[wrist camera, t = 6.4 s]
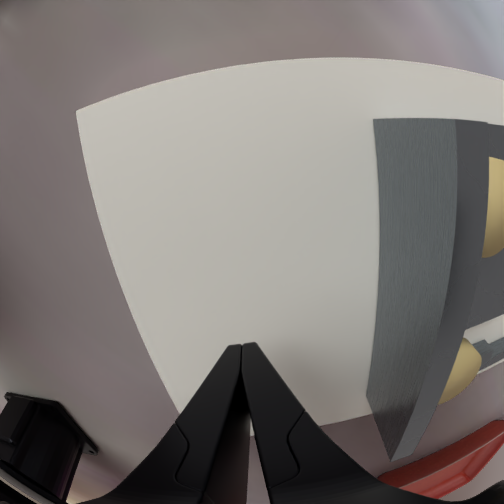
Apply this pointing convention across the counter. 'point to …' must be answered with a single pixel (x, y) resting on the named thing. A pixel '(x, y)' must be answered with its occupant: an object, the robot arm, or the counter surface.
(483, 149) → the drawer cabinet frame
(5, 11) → the counter surface
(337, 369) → the board
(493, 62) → the counter surface
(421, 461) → the plant saucer
